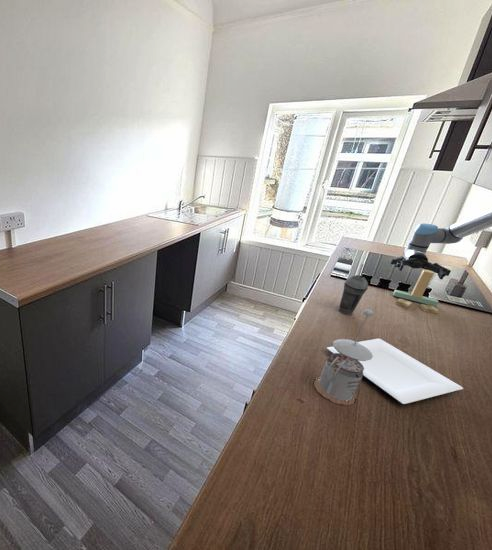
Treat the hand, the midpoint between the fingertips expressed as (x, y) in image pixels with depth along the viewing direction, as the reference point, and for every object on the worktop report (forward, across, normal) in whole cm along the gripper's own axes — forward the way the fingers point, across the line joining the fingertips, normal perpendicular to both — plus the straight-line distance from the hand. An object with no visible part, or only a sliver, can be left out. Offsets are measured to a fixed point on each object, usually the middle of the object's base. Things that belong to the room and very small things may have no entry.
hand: (421, 272), depth 130 cm
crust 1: (+18, +4, -10) cm, 21 cm away
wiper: (+9, 0, -10) cm, 14 cm away
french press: (+94, +23, -10) cm, 98 cm away
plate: (+74, +11, -10) cm, 76 cm away
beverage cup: (+42, +23, -10) cm, 49 cm away
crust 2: (+16, -4, -10) cm, 20 cm away
